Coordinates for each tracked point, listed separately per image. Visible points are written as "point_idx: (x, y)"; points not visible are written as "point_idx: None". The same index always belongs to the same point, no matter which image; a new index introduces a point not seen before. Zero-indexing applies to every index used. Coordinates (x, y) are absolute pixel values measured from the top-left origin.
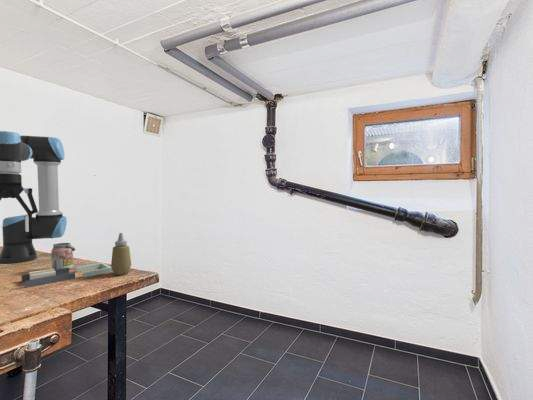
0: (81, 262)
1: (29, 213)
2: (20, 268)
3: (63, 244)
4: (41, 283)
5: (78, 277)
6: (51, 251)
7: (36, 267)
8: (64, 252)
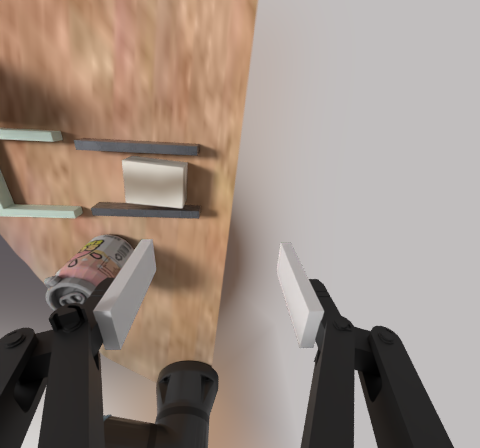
0: None
1: (78, 323)
2: (191, 318)
3: None
4: (164, 142)
5: None
6: None
7: (164, 307)
8: (79, 262)
